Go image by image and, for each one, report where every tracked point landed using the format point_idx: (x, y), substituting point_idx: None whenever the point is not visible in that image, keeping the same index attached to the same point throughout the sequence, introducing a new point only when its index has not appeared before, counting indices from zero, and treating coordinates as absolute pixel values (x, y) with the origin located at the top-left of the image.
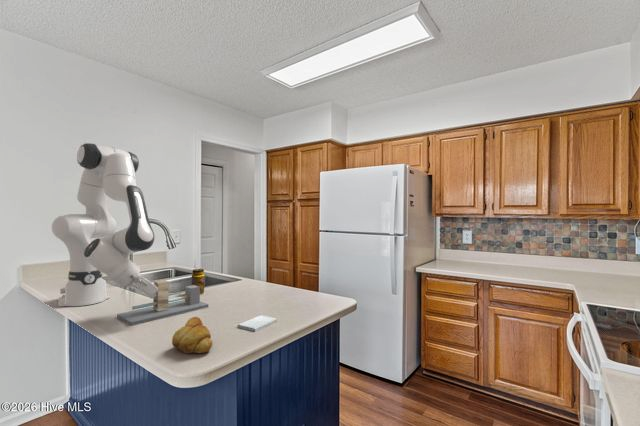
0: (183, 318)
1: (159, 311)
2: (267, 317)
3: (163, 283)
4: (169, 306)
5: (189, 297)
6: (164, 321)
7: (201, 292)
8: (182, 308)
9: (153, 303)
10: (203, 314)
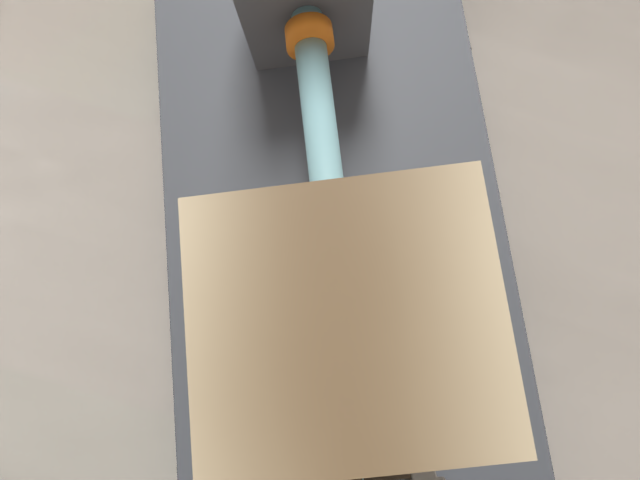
0: (636, 217)
1: None
2: None
3: (494, 306)
4: None
5: (341, 12)
6: (624, 371)
7: None
8: (432, 147)
9: None
10: (624, 56)
